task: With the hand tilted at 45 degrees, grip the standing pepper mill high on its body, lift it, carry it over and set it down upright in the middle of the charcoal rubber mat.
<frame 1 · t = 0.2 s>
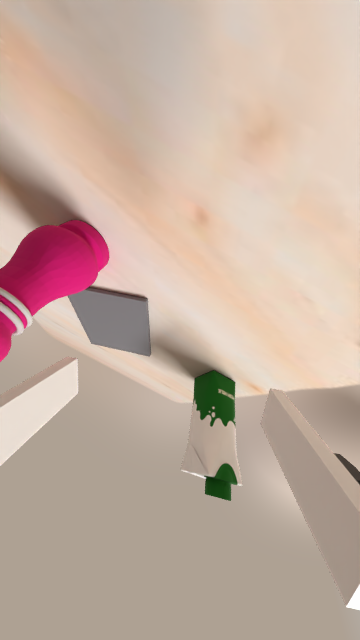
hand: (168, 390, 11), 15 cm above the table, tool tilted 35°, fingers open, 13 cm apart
milk carton: (214, 379, 41), on the table
rubber mat: (115, 323, 33), on the table
pepper mill: (87, 245, 22), on the table
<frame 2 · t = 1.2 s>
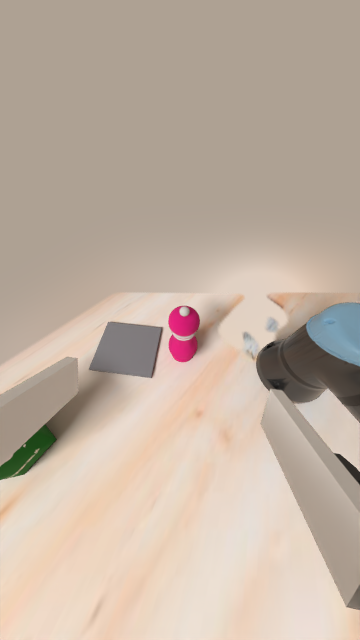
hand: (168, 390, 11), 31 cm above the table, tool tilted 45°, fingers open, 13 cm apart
milk carton: (32, 442, 35), on the table
rubber mat: (128, 348, 46), on the table
pepper mill: (182, 351, 46), on the table
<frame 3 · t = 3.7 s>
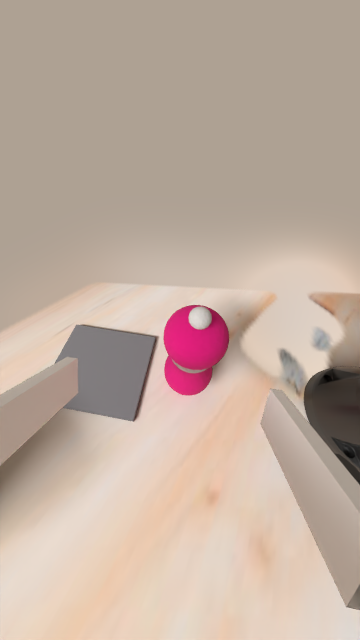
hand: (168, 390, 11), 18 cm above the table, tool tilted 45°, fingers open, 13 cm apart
rubber mat: (102, 367, 30), on the table
pepper mill: (186, 376, 29), on the table
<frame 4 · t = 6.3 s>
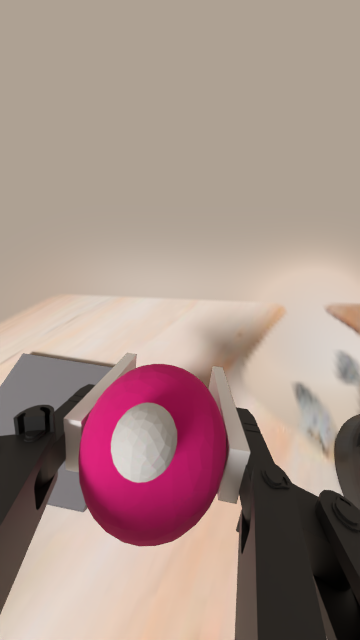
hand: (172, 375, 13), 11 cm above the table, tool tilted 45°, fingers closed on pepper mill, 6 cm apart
rubber mat: (51, 416, 21), on the table
pepper mill: (168, 428, 21), on the table, touching gripper
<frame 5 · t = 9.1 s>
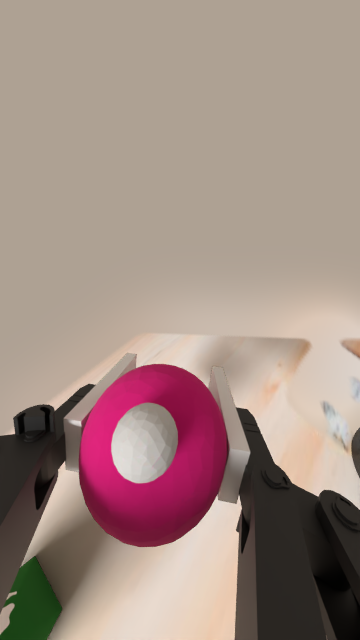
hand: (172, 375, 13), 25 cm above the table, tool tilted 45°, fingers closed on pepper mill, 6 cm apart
milk carton: (23, 614, 22), on the table
pepper mill: (169, 428, 21), point 14 cm above the table, touching gripper
when the fingers open (13 cm above the table, at t = 12.3 s): pepper mill stays where it is, resting on rubber mat.
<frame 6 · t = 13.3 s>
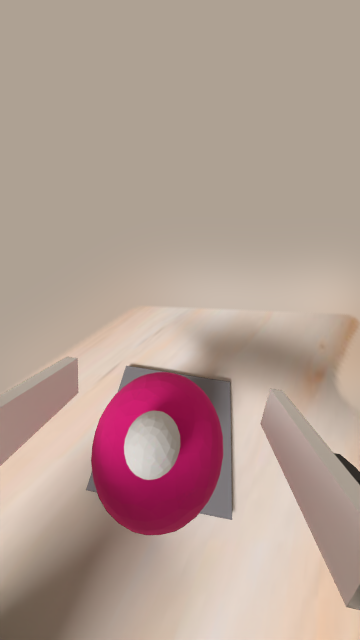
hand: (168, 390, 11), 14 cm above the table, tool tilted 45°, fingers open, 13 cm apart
rubber mat: (169, 427, 22), on the table
pepper mill: (169, 428, 22), point 1 cm above the table, touching rubber mat
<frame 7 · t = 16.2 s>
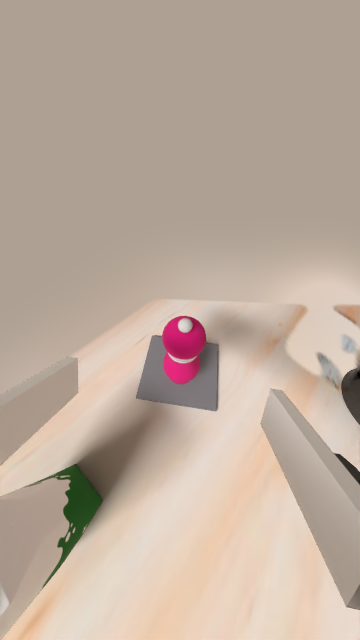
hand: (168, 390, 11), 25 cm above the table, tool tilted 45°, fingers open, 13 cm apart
milk carton: (70, 504, 26), on the table
rubber mat: (180, 370, 37), on the table
pepper mill: (180, 369, 37), point 1 cm above the table, touching rubber mat
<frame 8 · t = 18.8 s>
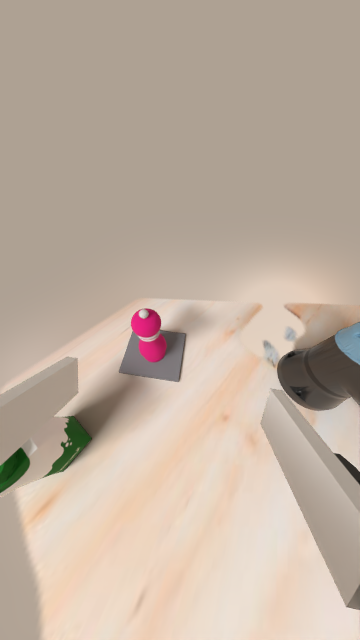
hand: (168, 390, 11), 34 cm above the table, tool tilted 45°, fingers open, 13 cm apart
milk carton: (69, 441, 37), on the table
rubber mat: (154, 352, 48), on the table
pepper mill: (154, 352, 47), point 1 cm above the table, touching rubber mat
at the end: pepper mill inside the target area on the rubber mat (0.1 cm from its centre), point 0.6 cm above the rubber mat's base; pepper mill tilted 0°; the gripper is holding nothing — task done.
